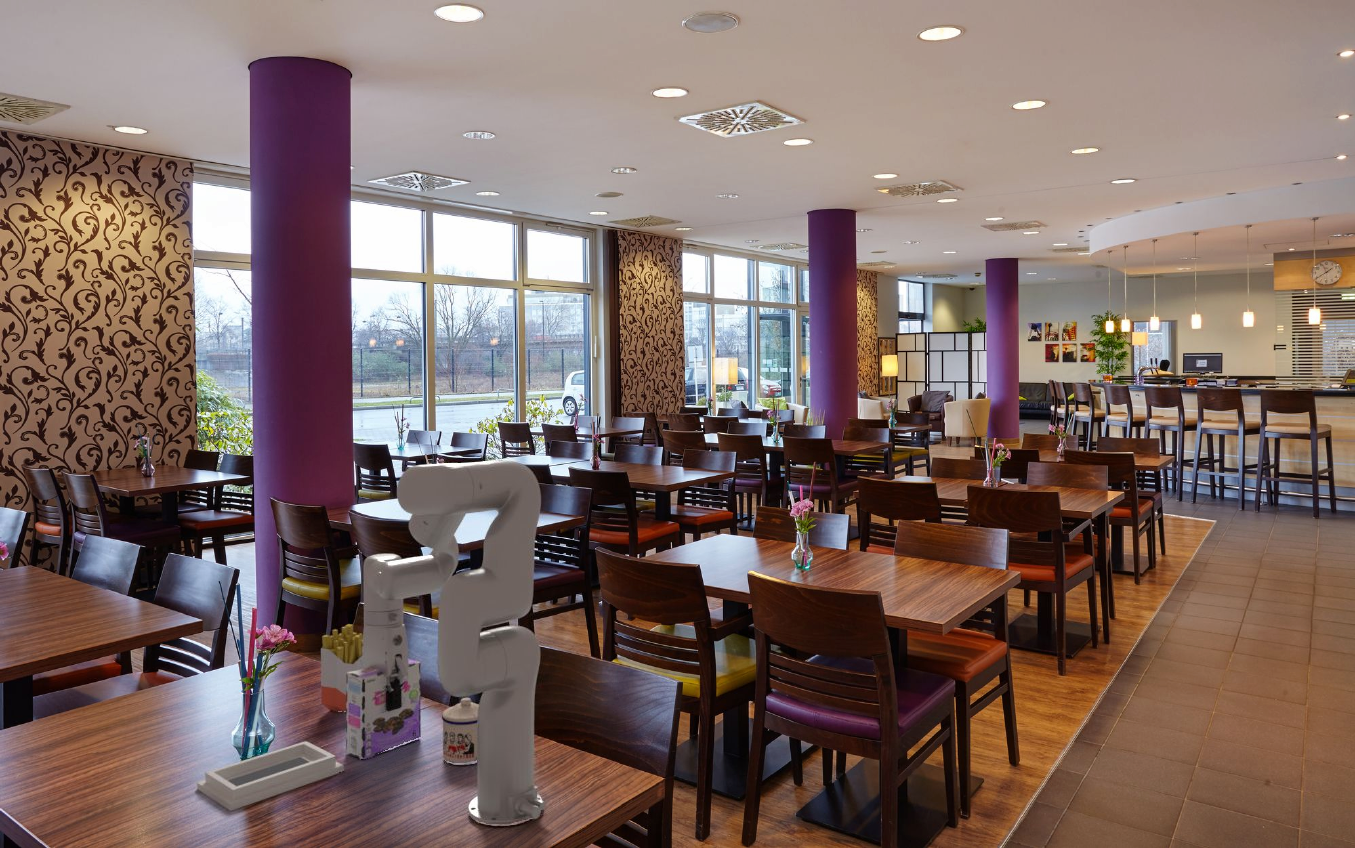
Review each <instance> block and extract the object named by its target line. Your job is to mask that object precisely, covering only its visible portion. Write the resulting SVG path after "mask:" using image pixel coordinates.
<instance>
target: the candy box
mask: <svg viewBox="0 0 1355 848" xmlns="http://www.w3.org/2000/svg"><path fill="white" fill-rule="evenodd" d="M408 659H409V669H408V674H409V677H408V678H407V680H406V681H405V683H404V685H403V688H402V689H401V690H402V706H401V708H399V709H395V710H392V711H386V691H388V687H387V680H386V677H385V676H383V673H382V672H381V671H379V670H376V669H374V668H370V667H367V668H363V669H360V670H356V671H350V672H347V673H346V675H347V689H346V692H347V693H346V708H347V709H346V713H345V714H346V718H345V719H346V722H345V723H346V725H345V726H346V727H345V730H346V732H345V736H346V741H345V753H346V754H348V755H350V756H352V755H353V756H352V757H354V756H355V758H356V757H357V759H358V758H359V760H361V759H366V758H368V759H370V758H369V757H371V758H373V757H372V756H374V755H376V756H378V755H377V754H378V753H381V752H383V751H385V750H388V749H389V748H393V747H394V746H398V745H400V744H403V743H404V742H408V741H410V740H414V739H416V738H419V737H422V736H421V732H422V731H421V723H422V722H421V719H422V718H421V710H422V709H421V708H422V707H421V661H418V660H415V659H411V658H408ZM395 673H396V670H395V671H392V674H395ZM391 679H392V683H393V682H394V681H395V679H396V677H392V678H391ZM374 757H375V756H374ZM366 760H367V759H366Z"/></svg>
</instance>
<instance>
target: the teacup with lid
mask: <svg viewBox="0 0 1355 848" xmlns="http://www.w3.org/2000/svg"><path fill="white" fill-rule="evenodd" d="M471 699H472V698H470V697H462V698H461V700H460V702H459V703H456V704H455V705H453V706H450V707H448V708H446V709H444V711H443V712H442V714H441V720H442V752H443V753H442V759H443V758H444V759H445V760H446V761H449V762H452V763H467V762H471V761H476V760H477V716H478V707H479V703H475V702H472V700H471ZM444 759H443V760H444Z"/></svg>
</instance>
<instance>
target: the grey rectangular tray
mask: <svg viewBox="0 0 1355 848" xmlns="http://www.w3.org/2000/svg"><path fill="white" fill-rule="evenodd" d="M336 758H337V755H335V754H332V753H330V752H329V751H326V750H325V749H322V748H320V747H318V746H316V745H315V744H312V743H311V742H309V741H307V740H305V741H302V742H299V743H296V744H292V745H290V746H286V747H282V748H279V749H277V750H273V751H270V752H266V753H263V754H261V755H260V754H259V755H257V756H253V757H251V758H247V759H245V760H244V759H243V760H240V761H238V762H234V763H231V764H228V765H225V766H222V767H218V768H216V769H211V770H209V771H206V772H204V773H205V774H204V777H205V778H204V779H203V780H200V781H198V782H196V790H198V791H199V792H200V793H202V794H204V795H206V796H207V797H209V798H210V799H211V800H213V801H215V802H216V803H217V804H218V805H221V806H222V807H223V808H225V809H227V810H228V811H230V812H232V811H234V810H239V809H240V808H243V807H246V806H249V805H252V804H254V803H257V802H260V801H263V800H267V799H269V798H272V797H274V796H277V795H280V794H283V793H286V792H289V791H292V790H295V789H297V788H300V787H303V786H305V785H309V784H312V783H315V782H319V781H320V780H323V779H326V778H330V777H332V776H334V775H337V774H340V773H339V772H341V773H343V772H342V771H344V770H345V769H344V768H345V767H344V764H342V763H340V762H338V761H337V759H336Z"/></svg>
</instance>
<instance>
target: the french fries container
mask: <svg viewBox="0 0 1355 848" xmlns="http://www.w3.org/2000/svg"><path fill="white" fill-rule="evenodd" d="M338 631H339V630H338V629H336V628H335V629H332V635H328V634H324V635H322V636H321V638H322V647H321V648H320V675H321V676H320V683H321V684H320V687H321V688H320V693H321V694H320V695H321V697H320V698H321V702H320V703H321V705H322V706H324V707H325V708H326V709H327V710H329V711H330V710H334V711H333V712H335V711H342V712H344V711H346V709H347V708H346V693H347V692H346V689H347V675H346V673H347V672H350V671H356V670H360V669H363V667H362V665H361V663H360V660H361V658H362V642H363V633H358V632H354V624H350V623H348V624H346V625H345V626H342V627H341V632H340V633H339V632H338Z"/></svg>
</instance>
